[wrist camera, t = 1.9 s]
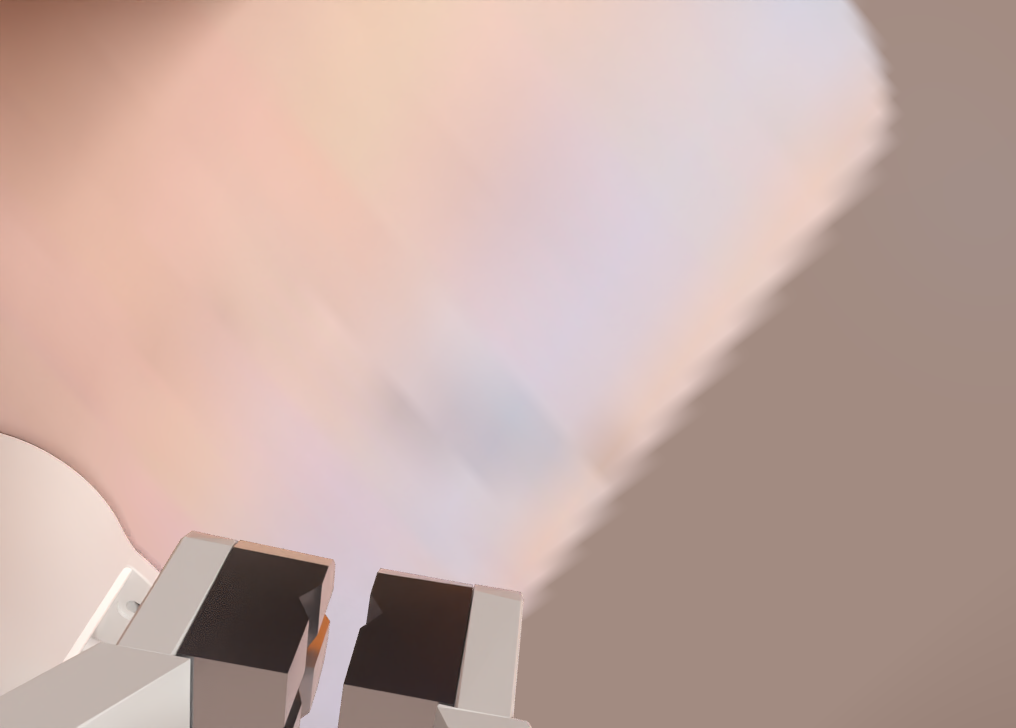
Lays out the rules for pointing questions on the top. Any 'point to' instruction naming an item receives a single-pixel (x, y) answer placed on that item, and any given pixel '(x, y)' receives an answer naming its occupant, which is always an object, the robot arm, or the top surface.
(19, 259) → the top surface
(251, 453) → the top surface
